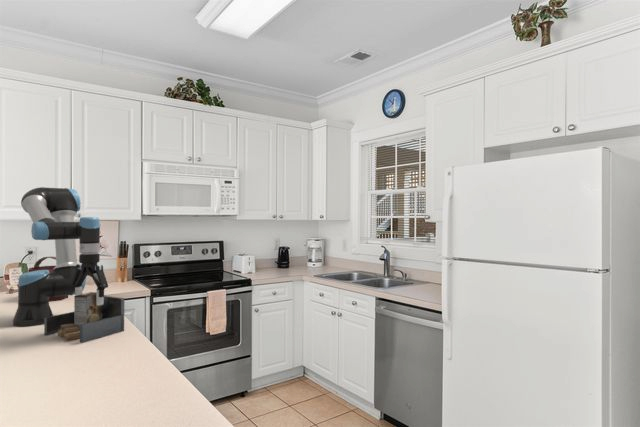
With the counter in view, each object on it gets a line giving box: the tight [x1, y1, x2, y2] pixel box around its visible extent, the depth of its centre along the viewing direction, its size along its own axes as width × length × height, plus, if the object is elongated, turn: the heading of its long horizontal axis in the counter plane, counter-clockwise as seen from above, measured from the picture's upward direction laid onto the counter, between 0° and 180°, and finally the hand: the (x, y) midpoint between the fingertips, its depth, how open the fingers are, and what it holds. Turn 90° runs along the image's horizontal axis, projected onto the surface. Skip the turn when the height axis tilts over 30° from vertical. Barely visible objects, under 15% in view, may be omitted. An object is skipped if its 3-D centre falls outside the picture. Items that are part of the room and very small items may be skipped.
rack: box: [43, 295, 125, 344], centre depth 171 cm, size 24×19×14 cm
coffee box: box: [73, 291, 103, 331], centre depth 173 cm, size 9×6×16 cm
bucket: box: [27, 256, 69, 303], centre depth 239 cm, size 24×22×25 cm
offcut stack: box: [57, 323, 80, 342], centre depth 165 cm, size 12×6×4 cm, turn 47°
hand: (89, 303), depth 173 cm, fingers open, 13 cm apart
